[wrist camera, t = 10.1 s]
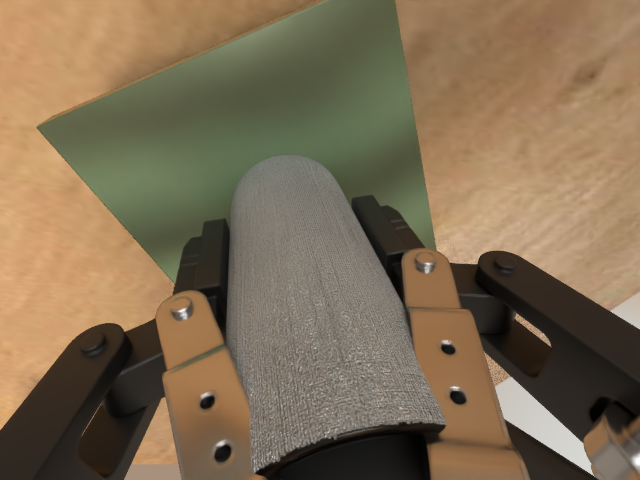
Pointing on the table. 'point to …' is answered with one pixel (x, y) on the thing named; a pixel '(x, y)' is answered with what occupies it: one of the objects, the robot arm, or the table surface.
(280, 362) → the grey hollow tube
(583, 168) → the table surface
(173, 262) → the plant stand
